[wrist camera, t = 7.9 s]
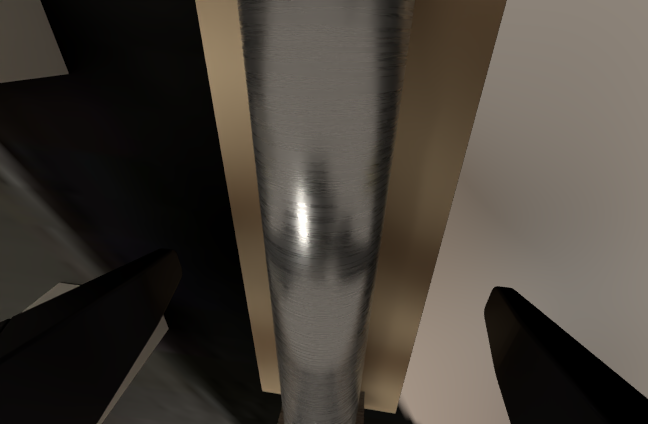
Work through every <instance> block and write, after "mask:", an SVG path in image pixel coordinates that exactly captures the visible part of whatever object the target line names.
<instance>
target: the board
mask: <svg viewBox="0 0 648 424" xmlns="http://www.w3.org/2000/svg"><path fill="white" fill-rule="evenodd" d="M195 1H196V7H197V13H198V19H199V25H200V30H201V36H202V42H203V48H204V54H205V60H206V65H207V71H208V77H209V83H210V89H211V95H212V100H213V106H214V112H215V118H216V124H217V130H218V135H219V141H220V147H221V153H222V159H223V165H224V170H225V176H226V182H227V188H228V194H229V200H230V205H231V211H232V217H233V223H234V229H235V235H236V240H237V246H238V252H239V258H240V264H241V270H242V275H243V281H244V287H245V293H246V299H247V305H248V310H249V316H250V322H251V328H252V334H253V340H254V345H255V351H256V357H257V363H258V369H259V375H260V380H261V386H262V391H265V392H271V393H277V394H281V389H280V380H279V371H278V362H277V353H276V344H275V335H274V326H273V317H272V309H271V300H270V291H269V282H268V273H267V264H266V255H265V246H264V237H263V228H262V219H261V210H260V202H259V193H258V184H257V175H256V166H255V157H254V148H253V139H252V130H251V121H250V112H249V103H248V95H247V86H246V77H245V68H244V59H243V50H242V41H241V32H240V23H239V14H238V5H237V0H195ZM506 1H507V0H415V4H414V11H413V18H412V25H411V32H410V39H409V46H408V54H407V61H406V68H405V75H404V82H403V89H402V96H401V104H400V111H399V118H398V125H397V132H396V139H395V146H394V154H393V161H392V168H391V175H390V182H389V189H388V196H387V203H386V211H385V218H384V225H383V232H382V239H381V246H380V253H379V261H378V268H377V275H376V282H375V289H374V296H373V303H372V310H371V318H370V325H369V332H368V339H367V346H366V353H365V360H364V368H363V375H362V382H361V389H360V391H363V392H365V398H364V408H366V409H372V410H377V411H383V412H389V413H396V409H397V405H398V401H399V398H400V394H401V390H402V387H403V383H404V379H405V375H406V372H407V368H408V364H409V361H410V357H411V353H412V349H413V346H414V342H415V338H416V335H417V331H418V327H419V323H420V320H421V316H422V312H423V309H424V305H425V301H426V297H427V294H428V290H429V286H430V283H431V279H432V275H433V272H434V268H435V264H436V260H437V257H438V253H439V249H440V246H441V242H442V238H443V234H444V231H445V227H446V223H447V220H448V216H449V212H450V209H451V205H452V201H453V198H454V194H455V190H456V186H457V182H458V179H459V175H460V172H461V168H462V164H463V160H464V157H465V153H466V149H467V146H468V142H469V138H470V134H471V131H472V127H473V123H474V120H475V116H476V112H477V108H478V104H479V101H480V97H481V94H482V90H483V86H484V82H485V79H486V75H487V71H488V68H489V64H490V60H491V57H492V53H493V49H494V45H495V42H496V38H497V34H498V31H499V27H500V23H501V20H502V16H503V12H504V8H505V5H506Z"/></svg>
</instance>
